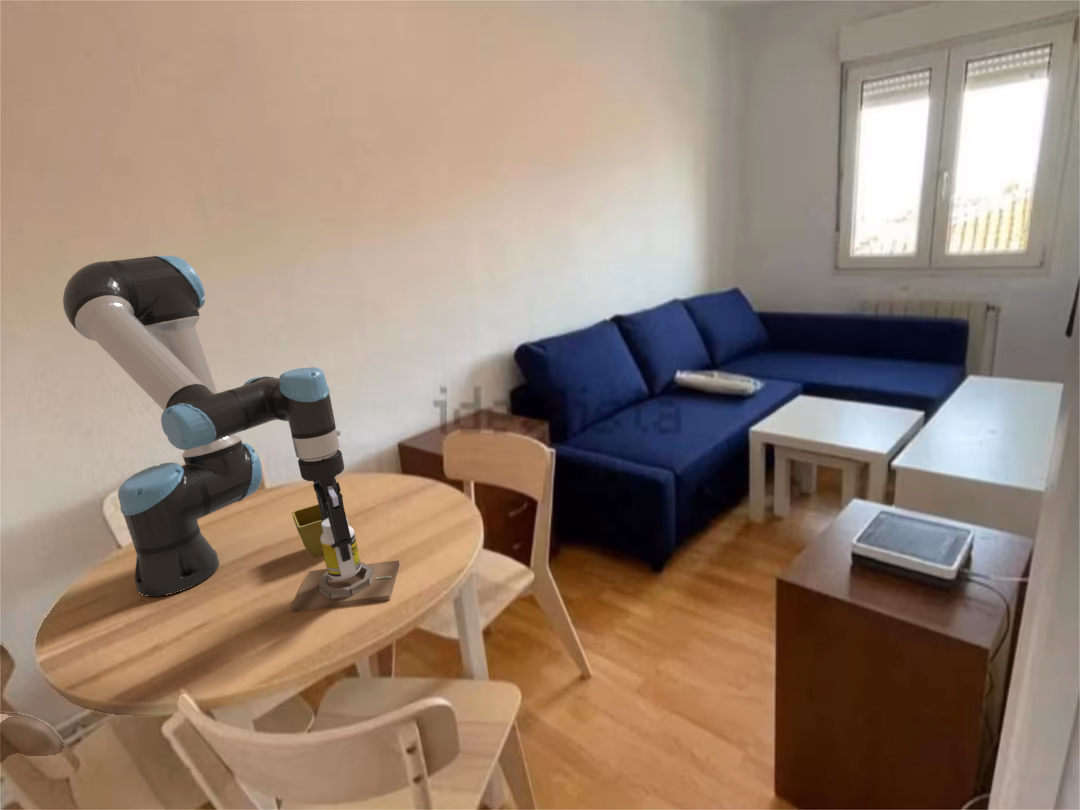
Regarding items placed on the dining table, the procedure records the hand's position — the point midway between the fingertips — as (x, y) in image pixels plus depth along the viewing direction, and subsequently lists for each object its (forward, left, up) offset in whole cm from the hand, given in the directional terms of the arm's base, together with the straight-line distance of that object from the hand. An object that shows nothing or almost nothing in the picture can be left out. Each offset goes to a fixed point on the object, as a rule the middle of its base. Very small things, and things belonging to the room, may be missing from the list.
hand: (343, 565), depth 114 cm
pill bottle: (0, 0, -2) cm, 2 cm away
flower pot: (-9, +16, -5) cm, 19 cm away
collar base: (0, 0, -5) cm, 5 cm away
